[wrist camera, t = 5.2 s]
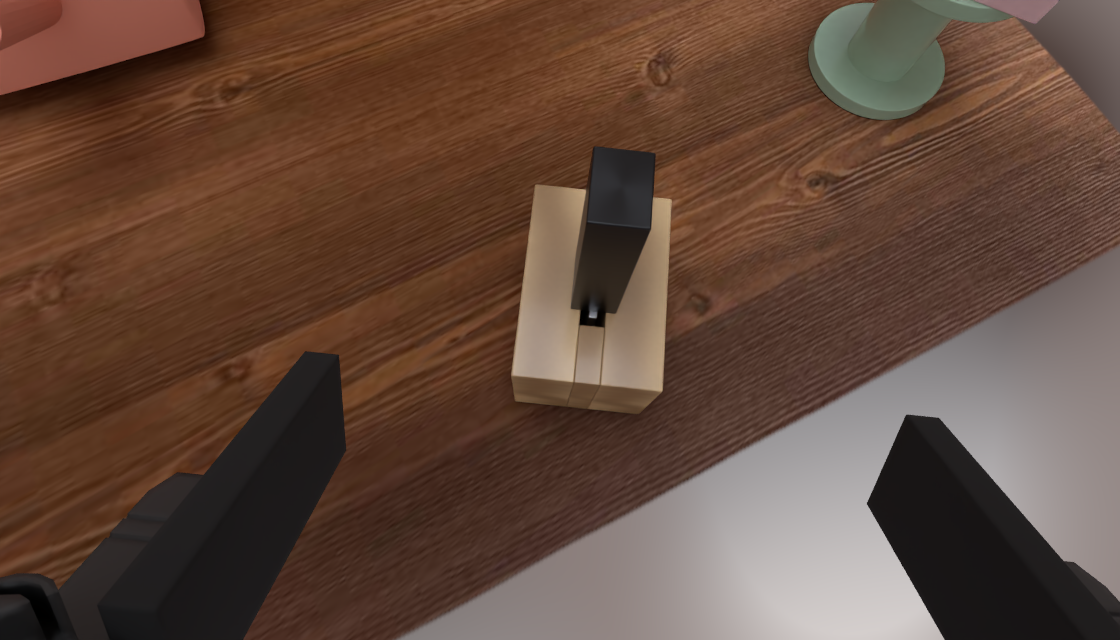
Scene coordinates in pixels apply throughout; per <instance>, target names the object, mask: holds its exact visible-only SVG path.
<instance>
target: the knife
mask: <svg viewBox="0 0 1120 640" xmlns="http://www.w3.org/2000/svg"><path fill="white" fill-rule="evenodd" d="M655 157H656V155H655V153H650V152H641V151H632V150H623V149H614V148H605V147H596V146H595V147H594V148H593V152H592V158H591V164H590V170H589V176H588V182H587V188H586V194H585V200H584V206H583V213H582V219H581V225H580V231H579V237H578V243H577V249H576V257H575V267H574V277H573V287H572V297H571V307H570V308H571V309H576V310H582V321H581V325H585V326H594V325H595V322H596V319H597V312H604V313H613V314H616V313H617V310H618V308H619V305H620V303H621V301H622V298H623V296H624V293H625V291H626V289H627V286H628V284H629V281H630V279H631V277H632V274H633V272H634V269H635V267H636V264H637V262H638V260H639V257H640V255H641V252H642V250H643V248H644V245H645V243H646V240H647V238H648V236H649V233H650V231H651V226H652V209H653V191H654V174H655Z"/></svg>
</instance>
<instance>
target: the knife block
mask: <svg viewBox="0 0 1120 640" xmlns="http://www.w3.org/2000/svg"><path fill="white" fill-rule="evenodd" d="M585 194H586V190H583V189H573V188H564V187H555V186H546V185H537V184H536V185H535V190H534V197H533V205H532V213H531V221H530V229H529V237H528V245H527V253H526V261H525V269H524V277H523V284H522V292H521V300H520V308H519V316H518V324H517V332H516V340H515V348H514V356H513V363H512V371H511V377H512V384H513V390H514V397H515V401H517V402H527V403H536V404H546V405H555V406H564V407H565V406H567V407H573V408H583V409H593V410H602V411H612V412H621V413H631V414H639V413H640V412H641V411H642V410H644V409H645V408H646V407H647V406H648V405H649V404H650V403H651V402H652V401H653V400H654V399H655V398H656V397H657V396H658V395H659V394H660V393H661V392H662V391H663V375H664V353H665V332H666V311H667V290H668V268H669V247H670V226H671V205H672V200H671V199H664V198H655V197H653V209H652V226H651V231H650V233H649V236H648V238H647V240H646V243H645V245H644V248H643V250H642V252H641V255H640V257H639V260H638V262H637V264H636V267H635V269H634V272H633V274H632V277H631V279H630V281H629V284H628V286H627V289H626V291H625V293H624V296H623V298H622V301H621V303H620V305H619V308H618V310H617V313H616V314H613V313H604V312H597V319H596V322H595V326H585V325H580V326H579V323H580V312H581V310H576V309H571V308H570V307H571V297H572V287H573V277H574V267H575V257H576V249H577V243H578V237H579V231H580V225H581V219H582V213H583V206H584V200H585Z"/></svg>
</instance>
